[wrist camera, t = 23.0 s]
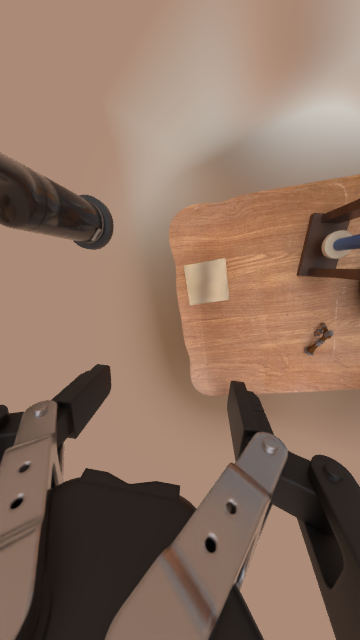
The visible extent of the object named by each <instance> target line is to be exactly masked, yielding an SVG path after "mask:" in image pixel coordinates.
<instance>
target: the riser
mask: <svg viewBox="0 0 360 640" xmlns="http://www.w3.org/2000/svg"><path fill="white" fill-rule="evenodd" d="M184 272H185V278H186V285H187V291H188V297H189V303H190V305H197V304H204V303H211V302H218V301H225V300H230V299H229V289H228V279H227V269H226V259H225V258H223V259H217V260H212V261H206V262H201V263H195V264H190V265H184Z"/></svg>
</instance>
